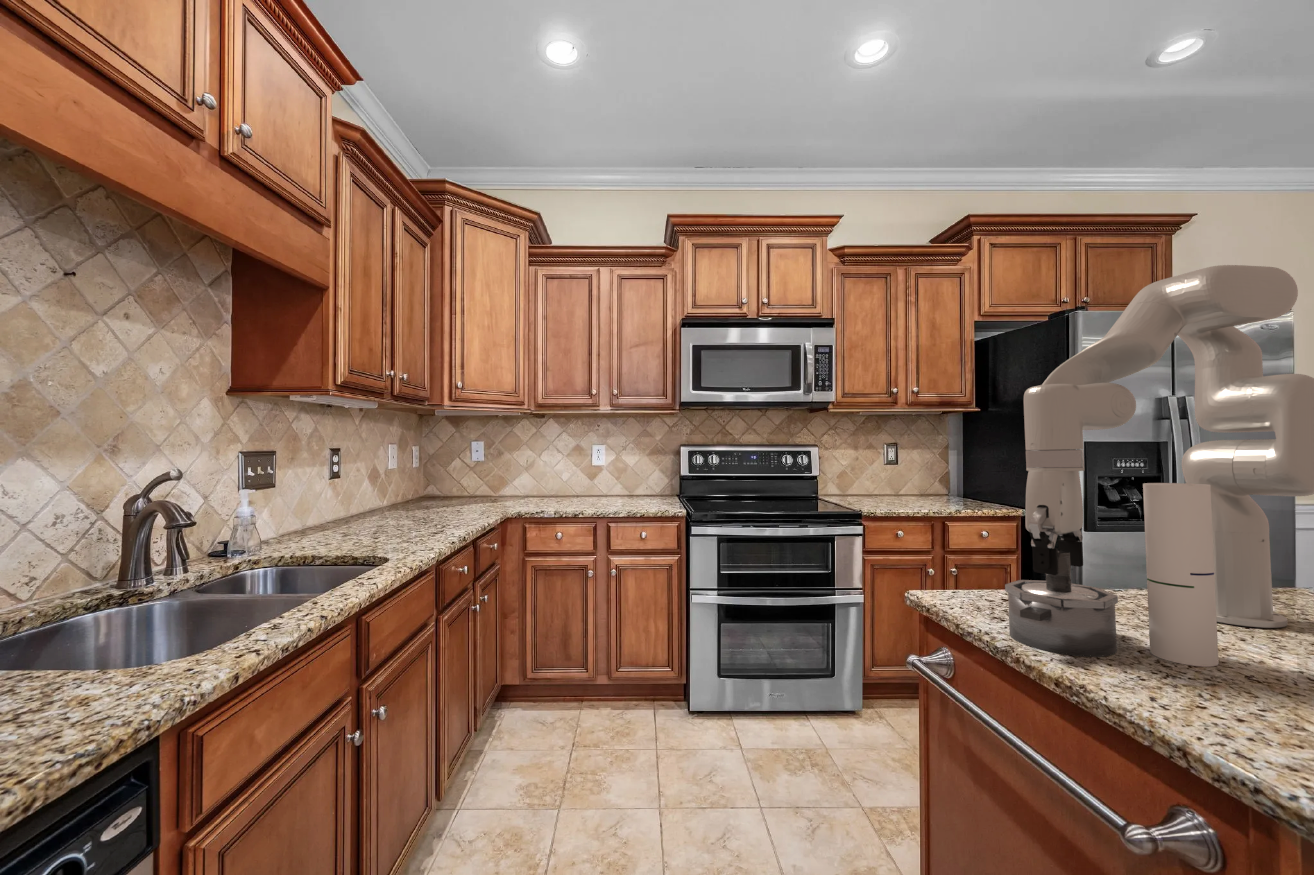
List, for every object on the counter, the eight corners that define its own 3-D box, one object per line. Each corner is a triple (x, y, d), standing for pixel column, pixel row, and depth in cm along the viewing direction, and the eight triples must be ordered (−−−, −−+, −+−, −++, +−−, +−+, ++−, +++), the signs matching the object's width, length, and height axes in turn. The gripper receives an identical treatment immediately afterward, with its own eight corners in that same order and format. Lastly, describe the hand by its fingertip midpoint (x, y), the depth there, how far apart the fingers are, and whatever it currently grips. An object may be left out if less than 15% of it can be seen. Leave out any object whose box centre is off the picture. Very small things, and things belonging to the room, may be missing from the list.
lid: (1037, 586, 93) (1035, 545, 94) (1108, 597, 85) (1106, 552, 85) (1011, 594, 88) (1009, 551, 88) (1084, 608, 80) (1082, 560, 80)
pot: (1040, 618, 98) (1038, 573, 98) (1138, 639, 87) (1136, 588, 87) (982, 642, 86) (980, 591, 86) (1087, 670, 75) (1085, 611, 75)
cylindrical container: (1233, 668, 75) (1224, 485, 76) (1172, 664, 76) (1164, 485, 77) (1193, 649, 82) (1185, 483, 83) (1138, 647, 83) (1131, 483, 84)
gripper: (1049, 460, 95) (1053, 559, 95) (1003, 462, 85) (1007, 572, 85) (1102, 460, 89) (1107, 566, 88) (1059, 463, 79) (1064, 581, 79)
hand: (1058, 569), depth 87 cm, fingers open, 9 cm apart
